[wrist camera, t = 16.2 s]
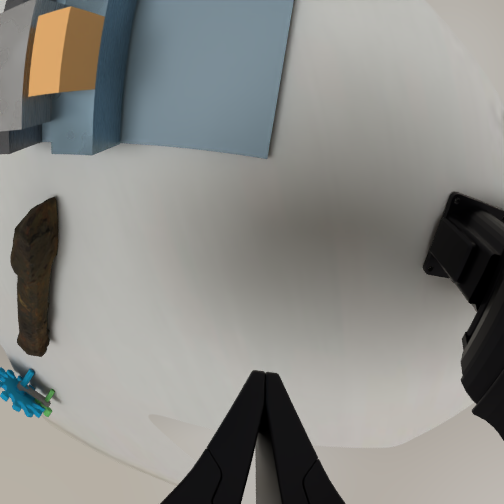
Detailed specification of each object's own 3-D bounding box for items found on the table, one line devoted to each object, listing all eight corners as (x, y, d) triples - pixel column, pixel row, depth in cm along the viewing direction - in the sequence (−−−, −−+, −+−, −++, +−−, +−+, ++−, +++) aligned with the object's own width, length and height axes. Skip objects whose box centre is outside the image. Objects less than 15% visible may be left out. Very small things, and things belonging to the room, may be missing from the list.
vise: (295, -12, 12) (301, -42, 8) (267, 155, 17) (264, 173, 14) (37, 10, 12) (-2, 5, 8) (25, 140, 17) (-15, 154, 13)
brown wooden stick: (54, 340, 29) (36, 368, 25) (29, 322, 28) (9, 348, 24) (83, 210, 21) (49, 238, 16) (47, 187, 20) (10, 209, 16)
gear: (-5, 364, 33) (-14, 393, 24) (10, 339, 35) (1, 364, 26) (46, 401, 38) (48, 434, 30) (61, 378, 40) (65, 409, 32)
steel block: (96, 13, 12) (36, -3, 7) (84, 113, 16) (21, 129, 10) (51, 24, 12) (-9, 18, 7) (42, 116, 16) (-20, 134, 10)
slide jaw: (142, -22, 11) (89, -57, 6) (119, 144, 16) (58, 170, 11) (100, -15, 11) (41, -39, 6) (81, 142, 16) (16, 168, 11)
